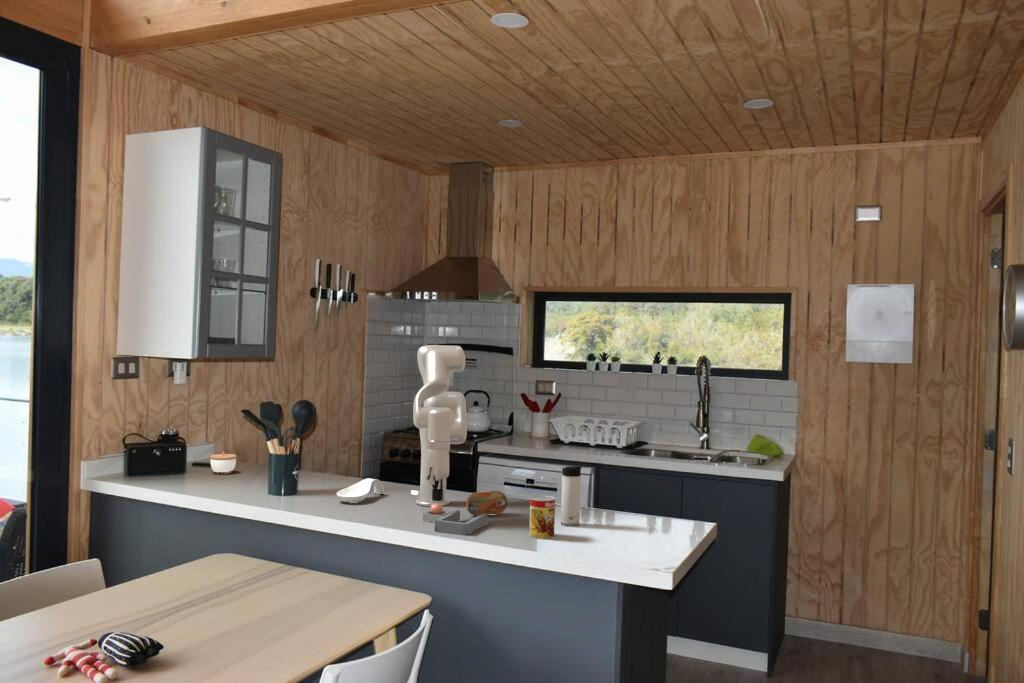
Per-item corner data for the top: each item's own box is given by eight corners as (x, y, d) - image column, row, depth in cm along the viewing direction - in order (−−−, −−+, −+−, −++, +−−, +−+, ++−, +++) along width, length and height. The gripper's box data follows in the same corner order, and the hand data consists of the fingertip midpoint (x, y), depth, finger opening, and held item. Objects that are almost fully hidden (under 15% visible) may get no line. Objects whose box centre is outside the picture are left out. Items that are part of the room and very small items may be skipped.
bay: (434, 531, 257) (434, 520, 257) (456, 520, 274) (456, 510, 274) (466, 535, 254) (466, 524, 254) (486, 524, 270) (487, 513, 270)
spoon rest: (356, 507, 292) (357, 487, 292) (329, 503, 297) (330, 484, 297) (391, 496, 314) (392, 477, 314) (366, 493, 318) (366, 474, 318)
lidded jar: (230, 470, 360) (231, 449, 360) (239, 474, 351) (240, 452, 351) (206, 472, 353) (206, 451, 353) (215, 476, 344) (215, 454, 344)
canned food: (552, 539, 251) (553, 501, 251) (527, 537, 253) (528, 499, 253) (555, 533, 259) (556, 496, 259) (531, 532, 260) (532, 494, 260)
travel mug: (574, 527, 268) (576, 467, 268) (557, 525, 271) (559, 465, 271) (583, 524, 273) (585, 465, 273) (566, 521, 277) (567, 463, 277)
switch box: (422, 520, 272) (422, 513, 272) (431, 516, 278) (432, 509, 278) (441, 523, 269) (441, 515, 269) (450, 518, 276) (450, 511, 276)
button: (428, 513, 273) (429, 505, 273) (434, 510, 276) (434, 503, 276) (439, 514, 271) (439, 506, 271) (444, 511, 275) (444, 504, 275)
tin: (468, 517, 279) (469, 493, 279) (464, 515, 282) (465, 491, 282) (507, 514, 286) (507, 490, 286) (503, 512, 289) (503, 489, 289)
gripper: (438, 443, 282) (436, 496, 282) (418, 447, 268) (417, 502, 267) (457, 444, 279) (456, 497, 279) (439, 448, 265) (437, 504, 265)
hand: (437, 500), depth 273 cm, fingers closed
